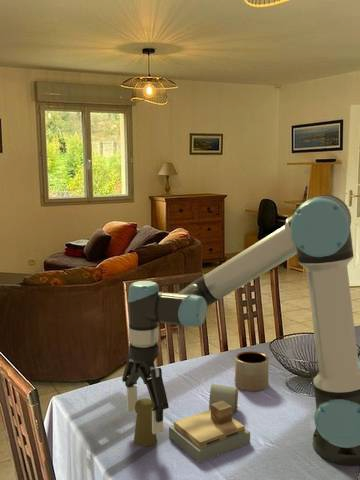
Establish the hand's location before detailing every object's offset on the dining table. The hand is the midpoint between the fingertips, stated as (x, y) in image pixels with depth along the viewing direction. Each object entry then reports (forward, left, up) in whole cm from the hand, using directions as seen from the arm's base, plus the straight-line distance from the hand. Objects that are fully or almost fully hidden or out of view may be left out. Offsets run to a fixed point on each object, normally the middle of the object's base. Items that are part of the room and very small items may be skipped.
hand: (144, 420), depth 131 cm
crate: (-9, -18, -1) cm, 20 cm away
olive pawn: (0, 0, -6) cm, 6 cm away
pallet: (-9, -14, -2) cm, 17 cm away
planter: (+10, -45, -6) cm, 47 cm away
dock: (-9, -14, -6) cm, 18 cm away
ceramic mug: (+3, -28, -6) cm, 28 cm away
